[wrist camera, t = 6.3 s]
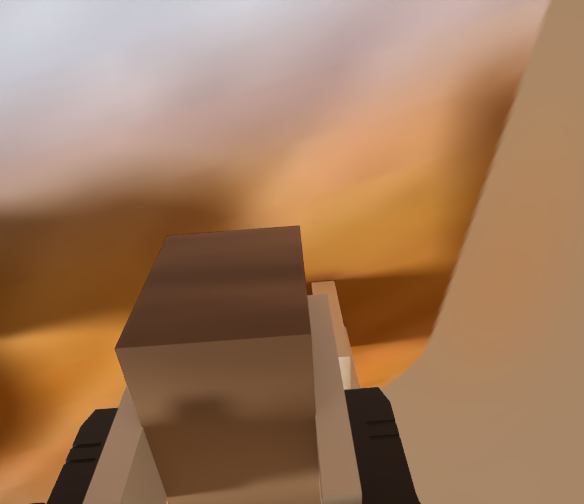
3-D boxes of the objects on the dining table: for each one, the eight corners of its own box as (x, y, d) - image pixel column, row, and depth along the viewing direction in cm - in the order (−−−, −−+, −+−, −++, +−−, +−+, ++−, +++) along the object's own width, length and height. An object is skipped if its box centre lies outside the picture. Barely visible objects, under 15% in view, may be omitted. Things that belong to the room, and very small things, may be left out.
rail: (163, 235, 13) (106, 355, 9) (302, 225, 13) (317, 340, 9) (228, 509, 20) (215, 655, 16) (319, 503, 20) (332, 647, 16)
